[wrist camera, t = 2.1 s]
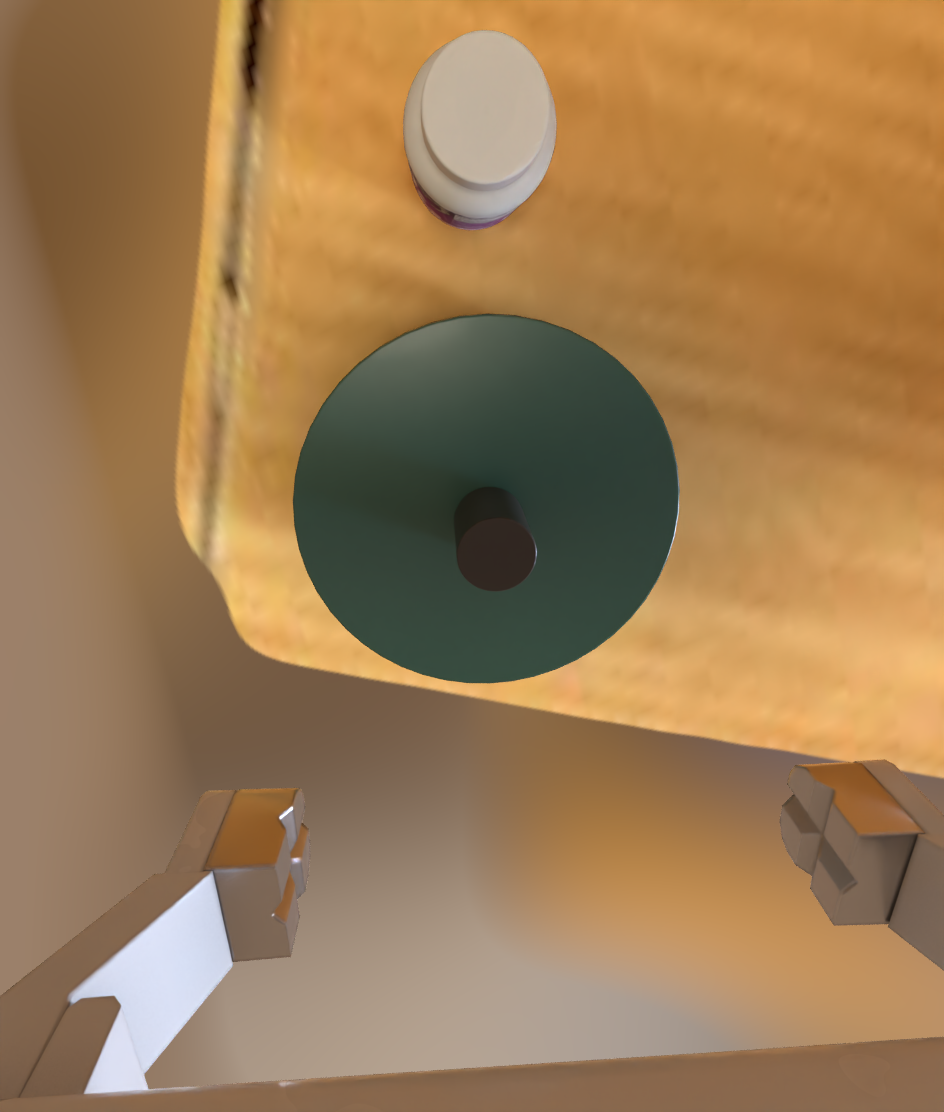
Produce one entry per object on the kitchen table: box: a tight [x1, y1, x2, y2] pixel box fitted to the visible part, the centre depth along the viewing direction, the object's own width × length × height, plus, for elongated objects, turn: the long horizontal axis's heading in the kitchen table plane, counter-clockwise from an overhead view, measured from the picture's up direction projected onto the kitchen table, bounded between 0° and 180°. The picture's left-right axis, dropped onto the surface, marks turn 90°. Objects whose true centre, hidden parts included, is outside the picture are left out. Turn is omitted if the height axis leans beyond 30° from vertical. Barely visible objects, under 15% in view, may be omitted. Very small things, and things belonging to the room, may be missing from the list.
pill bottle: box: [403, 30, 557, 230], centre depth 24 cm, size 5×5×10 cm
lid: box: [293, 314, 680, 683], centre depth 23 cm, size 14×14×5 cm
